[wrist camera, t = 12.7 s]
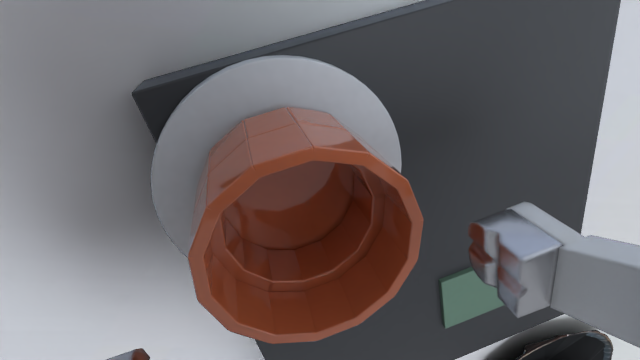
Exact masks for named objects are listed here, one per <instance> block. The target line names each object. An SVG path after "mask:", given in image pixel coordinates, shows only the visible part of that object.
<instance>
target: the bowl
mask: <svg viewBox="0 0 640 360" xmlns="http://www.w3.org/2000/svg"><path fill="white" fill-rule="evenodd" d="M423 221H424V220H423V216H422V213H421V211H420V208H419V206H418V203H417V201H416V198H415V196H414V193H413V191H412V188H411V186H410V183H409V181H408V180H407V179H406V178H405V177H404V176H403V175H402V174H401V173H400V172H399V171H398V170H397V169H396V168H395V167H393V166H392V165H391V164H390V163H389V162H388V161H387V160H386V159H385V158H384V157H383V156H381V155H380V154H379V153H378V152H377V151H376V150H375V149H374V148H373V147H372V146H370V145H369V144H368V143H367V142H366V141H365V140H364V139H363V138H362V137H361V136H360V135H359V134H357V133H356V132H354V131H353V130H352V129H350V128H349V127H348V126H346V125H345V124H344V123H342V122H341V121H339V120H338V119H337V118H335V117H334V116H333V115H331V114H328V113H327V112H320V111H313V110H307V109H300V108H294V107H287V108H286V107H283V108H280V109H277V110H273V111H270V112H267V113H264V114H260V115H257V116H254V117H251V118H247V119H245V120H244V121H243V120H242V121H241V122H240V123H238V124H237V125H236V126H235V127H234V128H233V129H232V130H231V131H230V132H229V133H228V134H227V135H225V136H224V137H223V138H222V139H221V140H220V141H219V142H218V143H217V144H216V145H215V146H214V147H212V148H211V150H210V152H209V154H208V156H207V159H206V162H205V165H204V168H203V171H202V173H201V176H200V179H199V182H198V185H197V188H196V196H195V204H194V212H193V218H192V226H191V234H190V242H189V250H188V261H189V266H190V270H191V275H192V279H193V283H194V288H195V292H196V297H197V300H198V302H199V303H200V304H201V305H202V306H203V307H204V308H205V309H207V310H208V311H209V312H210V313H211V314H212V315H213V316H214V317H215V318H216V319H217V320H218V321H219V322H220V323H221V324H222V325H223V326H224V327H225V328H226V329H227V330H229V331H230V332H234V333H237V334H240V335H243V336H247V337H250V338H253V339H256V340H260V341H263V342H266V343H269V344H271V343H272V344H279V343H295V342H311V341H318V340H321V339H324V338H326V337H329V336H331V335H334V334H336V333H339V332H341V331H344V330H347V329H349V328H352V327H354V326H357V325H359V324H361V323H362V322H363V321H365V320H366V319H367V318H368V317H370V316H371V315H372V314H373V313H375V312H376V311H377V310H378V309H380V308H381V307H382V306H383V305H385V304H386V303H387V302H388V301H390V300H391V299H392V298H393V297H394V296H395V295H396V294H397V292H398V291H399V289H400V288H401V286H402V284H403V283H404V281H405V280H406V278H407V276H408V275H409V273H410V272H411V270H412V269H413V267H414V265H415V264H416V262H417V259H418V256H419V249H420V242H421V235H422V228H423Z"/></svg>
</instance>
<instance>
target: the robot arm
mask: <svg viewBox="0 0 640 360" xmlns="http://www.w3.org/2000/svg"><path fill="white" fill-rule="evenodd" d="M468 236H469V237H470V238H471V239H472V240H473V242H472V244H471V245H470V247H469V249H468V251H469V260H470V263H471V265H472V268H473V270H474V271H475V273H476V274H477V276H478V277H479V278H480V279H481V280H482V282H483V283H484V284H486V285H489V286H492V287H495V288H497V297H498V298H499V299H500V300H501V301H502V302H503V303H504V304H505V305H506V306H507V308H508V309H509V310H510V311H511V312H512V313H513V314H514V315H515V316H516V317H517V318H519V317H522V316H525V315H527V314H530V313H532V312H535V311H537V310H540V309H543V308H545V307H548V306H550V305H551V307H550V308H553V309H555V310H557V311H559V312H562V313H564V314H566V315H568V316H570V317H573V318H575V319H577V320H579V321H581V322H584V323H586V324H588V325H590V326H593V327H595V328H597V329H599V330H601V331H604V332H606V333H608V334H610V335H612V336H615V337H617V338H619V339H621V340H624V341H626V342H628V343H630V344H632V345H635V346H637V347H639V348H640V246H639V245H634V244H630V243H625V242H620V241H616V240H611V239H607V238H602V237H597V236H593V235H590V236H587V237H584V236H582V235H581V234H579V233H578V232H576V231H574V230H573V229H571V228H570V227H568V226H567V225H565V224H563V223H562V222H560V221H559V220H557V219H555V218H554V217H552V216H551V215H549V214H547V213H546V212H544V211H543V210H541V209H539V208H538V207H536V206H535V205H533V204H531V203H528V202H522V203H520V204H517V205H515V206H512V207H510V208H507V209H506V210H502V211H499V212H497V213H494V214H492V215H489V216H486V217H484V218H481V219H479V220H476V221H474V222H471V223H470V225H469V227H468ZM149 359H150V357H149V355H148V354H147V353H146V352H145V351H144V350H143V349H135V350H132V351H129V352H127V353H124V354H121V355H118V356H115V357H112V358H109V359H107V360H149Z"/></svg>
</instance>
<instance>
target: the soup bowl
mask: <svg viewBox="0 0 640 360" xmlns="http://www.w3.org/2000/svg"><path fill="white" fill-rule="evenodd" d="M612 352H613V345H612V342H611V340H610V339H609V338H608V336H607V335H605V334H603V333H600V332H599V331H596V330H592V331H589V332H588V331H585V332H584V331H583V332H580V333H576V334H565V335H557V336H555V337H553V338H550V339H547V340H544V341H541V342H537V343H533V344H528V345H526V346H525V348H524V354H523V355H521V356H520V357H518V358H517V359H515V360H611V358H612Z"/></svg>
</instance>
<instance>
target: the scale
mask: <svg viewBox="0 0 640 360" xmlns="http://www.w3.org/2000/svg"><path fill="white" fill-rule="evenodd" d="M620 2H621V0H426V1H422V2H419V3H415V4H412V5H408V6H405V7H401V8H398V9H394V10H391V11H387V12H384V13H380V14H377V15H373V16H370V17H366V18H363V19H359V20H356V21H352V22H349V23H345V24H342V25H338V26H335V27H331V28H328V29H324V30H321V31H317V32H314V33H310V34H306V35H303V36H299V37H296V38H292V39H289V40H285V41H282V42H278V43H275V44H271V45H268V46H264V47H261V48H257V49H254V50H250V51H247V52H243V53H240V54H236V55H233V56H229V57H226V58H222V59H219V60H215V61H212V62H208V63H205V64H201V65H198V66H194V67H191V68H187V69H183V70H180V71H176V72H173V73H169V74H166V75H162V76H159V77H155V78H152V79H148V80H145V81H143V82H142V83H141V84H140V85H139V86H138V87H137V88H136V89H135V90H134V91H133V92H132V96H133V98H134V100H135V102H136V104H137V106H138V108H139V110H140V112H141V114H142V116H143V118H144V120H145V122H146V124H147V126H148V128H149V130H150V132H151V134H152V136H153V138H154V140H155V142H156V144H157V145H156V148H155V151H154V155H153V161H152V166H151V191H152V199H153V203H154V206H155V210H156V213H157V216H158V218H159V220H160V222H161V224H162V227H163V229H164V230H165V232H166V233H167V235H168V236H169V238H170V239H171V241H172V242H173V243H174V244H175V245H176V247H177V248H178V249H179V250H180V251H181V252H182V253H183V254H184V255H185V256H186V257H188V250H189V242H190V234H191V226H192V218H193V212H194V204H195V196H196V188H197V185H198V182H199V179H200V176H201V173H202V171H203V168H204V165H205V162H206V159H207V156H208V154H209V152H210V150H211V148H212V147H214V146H215V145H216V144H217V143H218V142H219V141H220V140H221V139H222V138H223V137H224V136H225V135H227V134H228V133H229V132H230V131H231V130H232V129H233V128H234V127H235V126H236V125H237V124H238V123H240V122H241V121H242V120H243V121H244V120H245V119H247V118H251V117H254V116H257V115H260V114H264V113H267V112H270V111H273V110H277V109H280V108H283V107H286V108H287V107H294V108H300V109H307V110H313V111H320V112H327V113H328V114H331V115H333V116H334V117H335V118H337V119H338V120H339V121H341V122H342V123H344V124H345V125H346V126H348V127H349V128H350V129H352V130H353V131H354V132H356V133H357V134H359V135H360V136H361V137H362V138H363V139H364V140H365V141H366V142H367V143H368V144H369V145H370V146H372V147H373V148H374V149H375V150H376V151H377V152H378V153H379V154H380V155H381V156H383V157H384V158H385V159H386V160H387V161H388V162H389V163H390V164H391V165H392V166H393V167H395V168H396V169H397V170H398V171H399V172H400V173H401V174H402V175H403V176H404V177H405V178H406V179H407V180H408V181H409V183H410V186H411V188H412V191H413V193H414V196H415V198H416V201H417V203H418V206H419V208H420V211H421V213H422V216H423V220H424V221H423V228H422V235H421V242H420V249H419V256H418V259H417V262H416V264H415V265H414V267H413V269H412V270H411V272H410V273H409V275H408V276H407V278H406V280H405V281H404V283H403V284H402V286H401V288H400V289H399V291H398V292H397V294H396V295H395V296H394V297H393V298H392V299H391V300H390V301H388V302H387V303H386V304H385V305H383V306H382V307H381V308H380V309H378V310H377V311H376V312H375V313H373V314H372V315H371V316H370V317H368V318H367V319H366V320H365V321H363V322H362V323H361V324H359V325H357V326H354V327H352V328H349V329H347V330H344V331H341V332H339V333H336V334H334V335H331V336H329V337H326V338H324V339H321V340H318V341H311V342H295V343H279V344H272V343H271V344H269V343H266V342H263V341H260V340H256V339H255V341H256V342H257V344H258V346H259V348H260V350H261V352H262V354H263V356H264V358H265V360H455V359H457V358H460V357H462V356H464V355H467V354H469V353H472V352H474V351H476V350H479V349H481V348H484V347H486V346H488V345H491V344H493V343H496V342H498V341H500V340H503V339H505V338H508V337H510V336H512V335H515V334H517V333H520V332H522V331H524V330H527V329H529V328H532V327H534V326H536V325H539V324H541V323H544V322H546V321H548V320H551V319H553V318H556V317H558V316H560V315H563V314H564V313H562V312H559V311H557V310H555V309H553V308H550V307H551V305H550V306H548V307H545V308H543V309H540V310H537V311H535V312H532V313H530V314H527V315H525V316H522V317H519V318H517V317H516V316H515V315H514V314H513V313H512V312H511V311H510V310H509V309H508V308H507V306H506V305H505V304H504V303H503V302H502V301H501V300H500V299H499V298H498V297H497V288H495V287H492V286H489V285H486V284H484V283H483V282H482V280H481V279H480V278H479V277H478V276H477V274H476V273H475V271H474V270H473V268H472V265H471V263H470V260H469V251H468V249H469V247H470V245H471V244H472V242H473V240H472V239H471V238H470V237H469V236H468V227H469V225H470V223H471V222H474V221H476V220H479V219H481V218H484V217H486V216H489V215H492V214H494V213H497V212H499V211H502V210H506V209H507V208H510V207H512V206H515V205H517V204H520V203H522V202H528V203H531V204H533V205H535V206H536V207H538V208H539V209H541V210H543V211H544V212H546V213H547V214H549V215H551V216H552V217H554V218H555V219H557V220H559V221H560V222H562V223H563V224H565V225H567V226H568V227H570V228H571V229H573V230H574V231H576V232H578V233H579V234H581V229H582V223H583V217H584V212H585V206H586V200H587V194H588V188H589V182H590V177H591V171H592V165H593V159H594V153H595V148H596V142H597V136H598V130H599V124H600V118H601V113H602V107H603V101H604V95H605V89H606V83H607V78H608V72H609V66H610V60H611V54H612V49H613V43H614V37H615V31H616V25H617V19H618V14H619V8H620Z"/></svg>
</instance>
